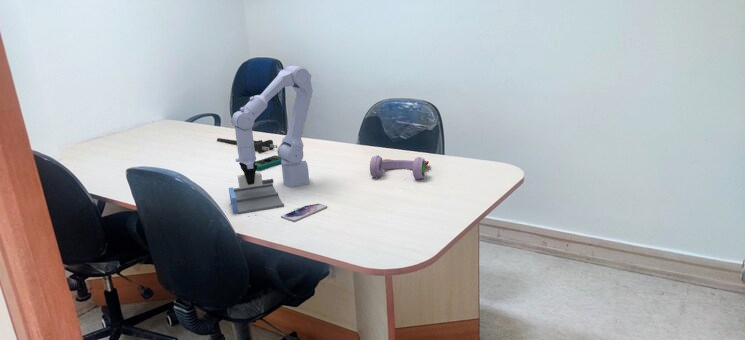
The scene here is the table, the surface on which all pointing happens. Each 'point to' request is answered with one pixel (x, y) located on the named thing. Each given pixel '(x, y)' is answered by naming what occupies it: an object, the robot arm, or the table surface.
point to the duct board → (254, 198)
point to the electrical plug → (258, 145)
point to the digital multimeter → (268, 163)
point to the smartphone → (303, 212)
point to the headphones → (398, 166)
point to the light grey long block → (257, 182)
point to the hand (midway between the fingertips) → (250, 182)
